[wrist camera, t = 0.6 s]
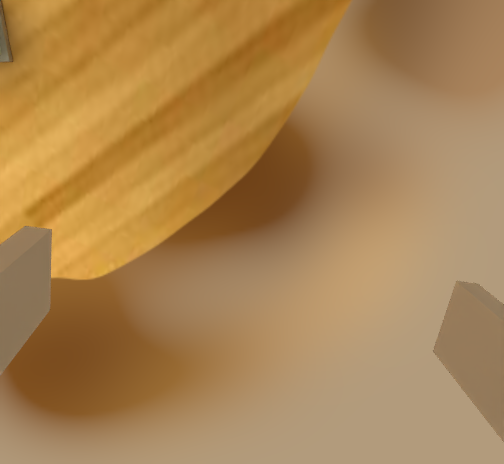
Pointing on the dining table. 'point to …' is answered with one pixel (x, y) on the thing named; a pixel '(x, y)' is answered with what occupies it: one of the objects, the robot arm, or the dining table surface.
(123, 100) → the dining table surface
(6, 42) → the unit
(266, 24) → the dining table surface
